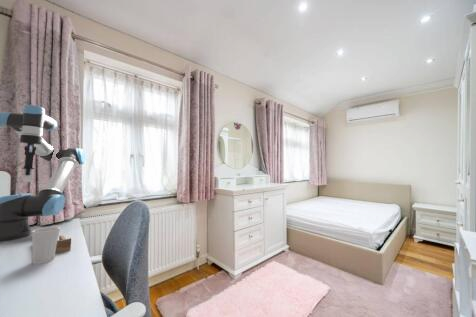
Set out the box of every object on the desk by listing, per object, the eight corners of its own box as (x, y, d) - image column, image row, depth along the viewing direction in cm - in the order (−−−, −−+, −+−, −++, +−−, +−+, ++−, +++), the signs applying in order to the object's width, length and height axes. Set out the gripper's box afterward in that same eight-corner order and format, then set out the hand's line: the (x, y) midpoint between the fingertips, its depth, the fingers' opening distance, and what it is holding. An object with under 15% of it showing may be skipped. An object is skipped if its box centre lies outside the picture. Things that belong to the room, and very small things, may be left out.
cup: (24, 267, 71) (27, 233, 72) (34, 258, 78) (37, 228, 79) (53, 262, 75) (55, 230, 76) (60, 255, 82) (62, 226, 83)
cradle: (33, 244, 94) (34, 234, 94) (62, 239, 102) (62, 229, 102) (37, 257, 79) (38, 244, 80) (70, 250, 87) (71, 238, 88)
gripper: (20, 136, 100) (15, 181, 98) (21, 132, 92) (15, 182, 90) (40, 138, 106) (36, 181, 104) (43, 135, 98) (38, 182, 95)
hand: (26, 181), depth 97 cm, fingers closed
